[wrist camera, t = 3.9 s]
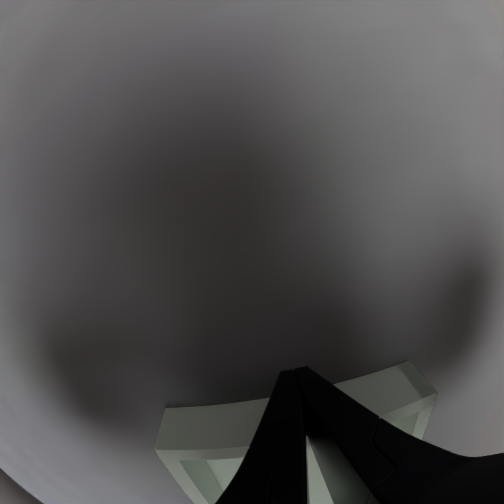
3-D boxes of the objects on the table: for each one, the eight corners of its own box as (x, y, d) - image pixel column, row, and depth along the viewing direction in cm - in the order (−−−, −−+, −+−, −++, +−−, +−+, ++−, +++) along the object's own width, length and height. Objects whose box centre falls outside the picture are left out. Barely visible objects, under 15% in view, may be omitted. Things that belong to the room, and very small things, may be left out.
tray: (372, 491, 12) (383, 518, 9) (235, 517, 12) (235, 547, 9) (404, 354, 9) (437, 391, 7) (167, 400, 9) (153, 449, 7)
